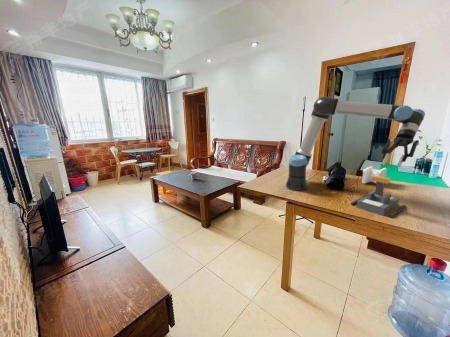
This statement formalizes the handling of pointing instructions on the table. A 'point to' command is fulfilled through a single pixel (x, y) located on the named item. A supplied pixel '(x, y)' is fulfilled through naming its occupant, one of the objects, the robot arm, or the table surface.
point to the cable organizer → (372, 174)
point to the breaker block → (377, 203)
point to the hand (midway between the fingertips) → (390, 164)
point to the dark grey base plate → (391, 214)
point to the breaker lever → (380, 185)
